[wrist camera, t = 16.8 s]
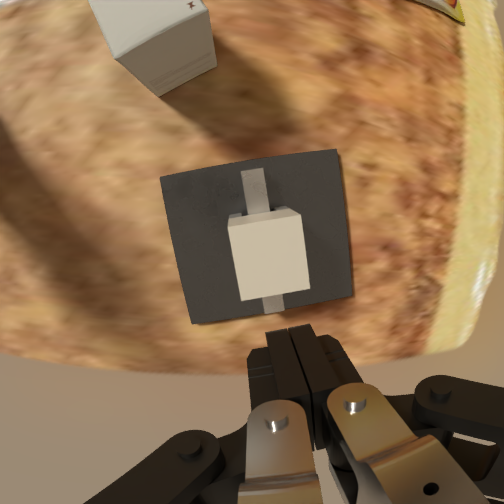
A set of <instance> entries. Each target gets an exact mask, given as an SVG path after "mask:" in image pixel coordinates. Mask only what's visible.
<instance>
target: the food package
mask: <svg viewBox="0 0 504 504" xmlns="http://www.w3.org/2000/svg"><path fill="white" fill-rule="evenodd" d="M414 1H417V2H420V3H422V4H425V5H427V6H430V7H432V8H435V9H437V10H439V11H442V12H444V13H446V14H447V15H449V16H451V17H453V18H454V19H456V20H458V21H460V22H463V23H465V19H464V16H463V12H462V9H461V6H460V2H459V0H414Z"/></svg>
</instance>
